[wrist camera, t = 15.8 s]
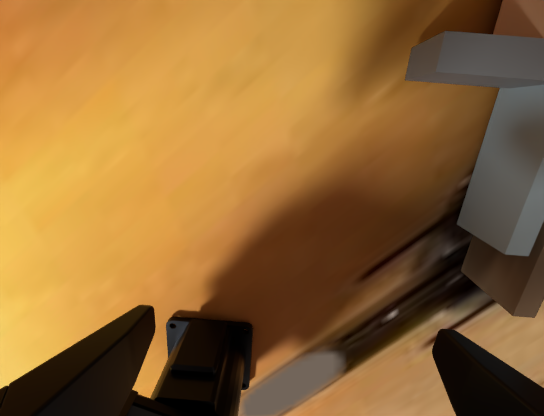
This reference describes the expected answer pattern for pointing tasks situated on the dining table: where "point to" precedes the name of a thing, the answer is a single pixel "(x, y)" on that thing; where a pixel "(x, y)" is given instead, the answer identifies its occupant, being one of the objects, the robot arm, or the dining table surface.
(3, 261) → the dining table surface
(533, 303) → the grey-brown blocks
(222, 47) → the dining table surface
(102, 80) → the dining table surface
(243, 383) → the robot arm
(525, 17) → the tan rectangular block
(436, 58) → the grey l-shaped bracket
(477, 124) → the dining table surface
